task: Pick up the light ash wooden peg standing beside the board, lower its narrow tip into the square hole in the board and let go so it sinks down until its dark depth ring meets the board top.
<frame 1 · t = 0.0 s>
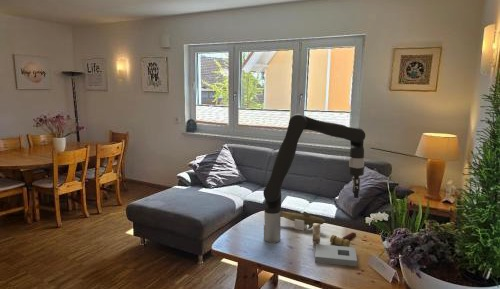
hand: (355, 195, 172), 29 cm above the table, tool pointing down, fingers open, 8 cm apart
peg: (316, 245, 179), on the table
wood carving: (297, 227, 204), on the table
gavel: (346, 241, 185), on the table
board: (335, 257, 165), on the table
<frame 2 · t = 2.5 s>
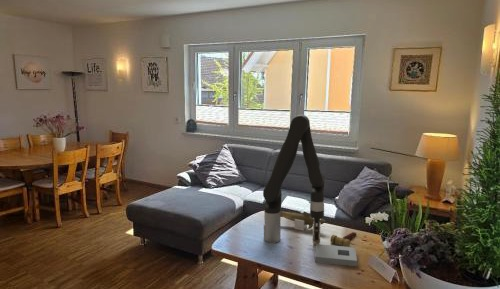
hand: (316, 236, 178), 5 cm above the table, tool pointing down, fingers open, 8 cm apart
nothing on the table moved.
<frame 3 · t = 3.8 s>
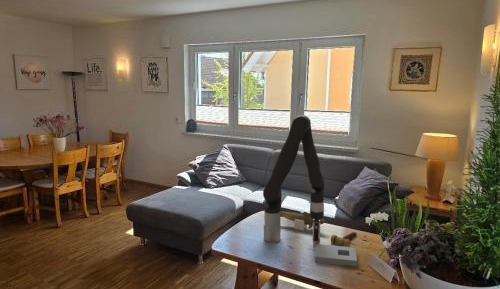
hand: (316, 238, 179), 4 cm above the table, tool pointing down, fingers closed on peg, 4 cm apart
peg: (316, 245, 179), on the table, touching gripper
everything else where it was.
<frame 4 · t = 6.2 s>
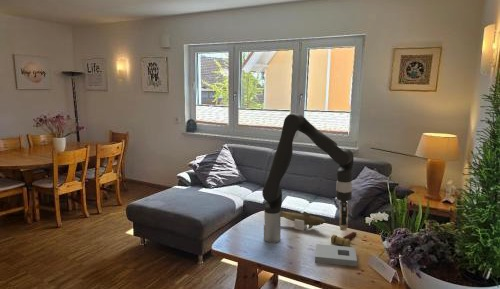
hand: (343, 222, 163), 19 cm above the table, tool pointing down, fingers closed on peg, 4 cm apart
peg: (343, 229, 163), point 15 cm above the table, touching gripper
everything else where it was.
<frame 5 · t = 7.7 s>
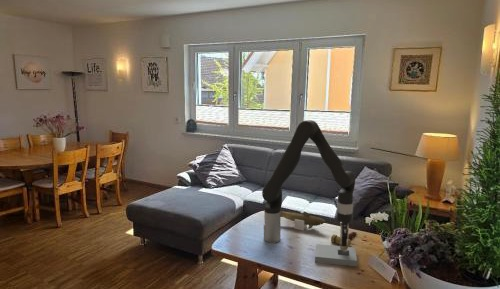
hand: (343, 243, 163), 8 cm above the table, tool pointing down, fingers closed on peg, 4 cm apart
peg: (343, 250, 164), point 4 cm above the table, touching gripper
everything else where it was.
when the fingers open (5 cm above the table, at t = 9.0 s): peg drops 1 cm, resting in board.
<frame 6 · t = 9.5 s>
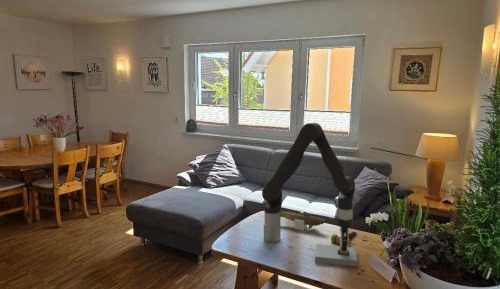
hand: (343, 246, 164), 6 cm above the table, tool pointing down, fingers open, 8 cm apart
peg: (343, 258, 165), resting in board
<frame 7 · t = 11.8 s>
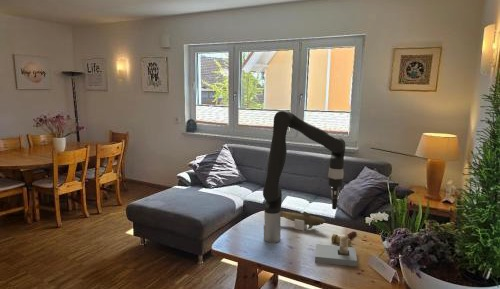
hand: (334, 206, 170), 25 cm above the table, tool pointing down, fingers open, 8 cm apart
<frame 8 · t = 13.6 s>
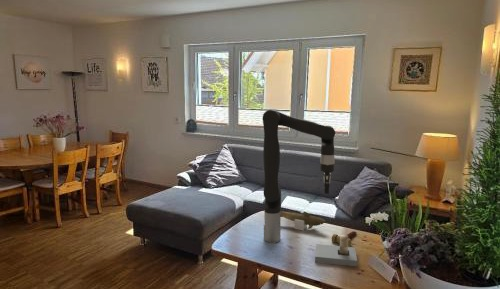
hand: (326, 191, 177), 30 cm above the table, tool pointing down, fingers open, 8 cm apart
at the end: peg 0.0 cm from the target spot on the board, point 0.0 cm above the board's base; peg tilted 0°; the gripper is holding nothing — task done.
